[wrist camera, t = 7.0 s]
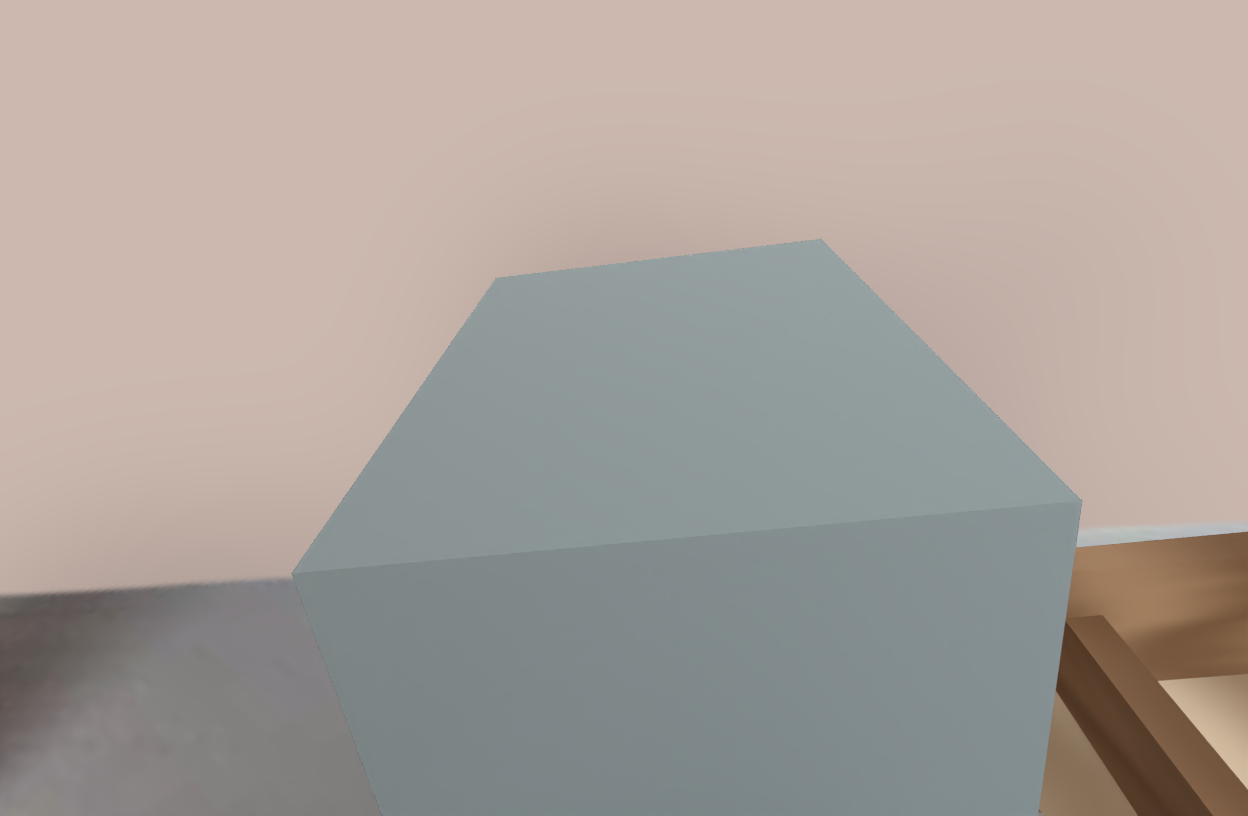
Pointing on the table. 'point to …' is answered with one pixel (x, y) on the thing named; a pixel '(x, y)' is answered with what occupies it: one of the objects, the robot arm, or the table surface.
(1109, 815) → the wooden holder stand
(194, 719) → the table surface
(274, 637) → the table surface
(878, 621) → the pale blue rectangular block
